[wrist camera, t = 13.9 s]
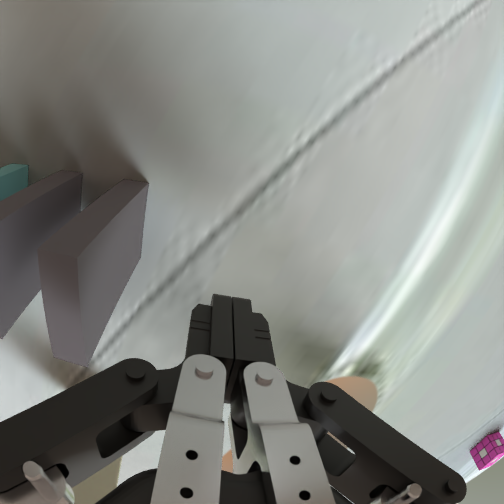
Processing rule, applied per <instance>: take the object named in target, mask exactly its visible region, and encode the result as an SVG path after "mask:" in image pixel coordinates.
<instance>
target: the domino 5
mask: <svg viewBox="0 0 504 504" xmlns="http://www.w3.org/2000/svg"><path fill="white" fill-rule="evenodd" d="M148 186H149V183H146V182H140V181H134V180H127V179H123V180H122V181H121V182H119V183H118V184H116V185H115V186H114V187H112V188H111V189H110V190H108V191H107V192H106V193H104V194H103V195H102V196H100V197H99V198H98V199H96V200H95V201H94V202H93V203H91V204H90V205H89V206H87V207H86V208H85V209H84V210H82V211H81V212H80V213H79V214H77V215H76V216H75V217H74V218H72V219H71V220H70V221H69V222H68V223H66V224H65V225H64V226H63V227H62V228H60V229H59V230H58V231H57V232H56V233H55V234H53V235H52V236H51V237H50V238H49V239H48V240H46V241H45V242H44V243H43V244H42V245H41V246H40V247H39V248H38V249H37V253H38V264H39V274H40V283H41V290H42V298H43V304H44V311H45V316H46V322H47V327H48V333H49V338H50V342H51V347H52V351H53V356H54V358H58V359H61V360H64V361H67V362H71V363H74V364H78V365H81V366H85V367H88V365H89V363H90V360H91V358H92V356H93V353H94V351H95V349H96V347H97V345H98V342H99V340H100V338H101V336H102V334H103V331H104V329H105V327H106V325H107V323H108V321H109V319H110V317H111V315H112V312H113V310H114V308H115V306H116V304H117V302H118V300H119V298H120V296H121V294H122V292H123V290H124V288H125V286H126V284H127V282H128V281H129V279H130V277H131V275H132V273H133V271H134V269H135V267H136V265H137V263H138V262H139V260H140V258H141V248H142V237H143V227H144V218H145V209H146V201H147V193H148Z"/></svg>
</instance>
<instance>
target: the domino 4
mask: <svg viewBox="0 0 504 504" xmlns="http://www.w3.org/2000/svg"><path fill="white" fill-rule="evenodd" d="M81 186H82V173H80V172H72V171H64V170H61V171H59V172H57V173H54V174H52V175H50V176H48V177H46V178H44V179H42V180H40V181H38V182H36V183H34V184H32V185H30V186H28V187H26V188H24V189H22V190H20V191H18V192H16V193H14V194H13V195H11V196H9V197H7V198H5V199H3V200H2V201H0V338H1V339H3V337H4V336H5V335H6V333H7V332H8V330H9V329H10V328H11V326H12V325H13V324H14V322H15V321H16V320H17V319H18V317H19V316H20V315H21V313H22V312H23V311H24V309H25V308H26V307H27V306H28V304H29V303H30V302H31V301H32V299H33V298H34V297H35V296H36V295H37V293H38V292H39V291H40V290H41V283H40V274H39V264H38V253H37V249H38V248H39V247H40V246H41V245H42V244H43V243H44V242H45V241H46V240H48V239H49V238H50V237H51V236H52V235H53V234H55V233H56V232H57V231H58V230H59V229H60V228H62V227H63V226H64V225H65V224H66V223H68V222H69V221H70V220H71V219H72V218H74V217H75V216H76V215H77V214H79V213H80V205H81Z"/></svg>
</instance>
